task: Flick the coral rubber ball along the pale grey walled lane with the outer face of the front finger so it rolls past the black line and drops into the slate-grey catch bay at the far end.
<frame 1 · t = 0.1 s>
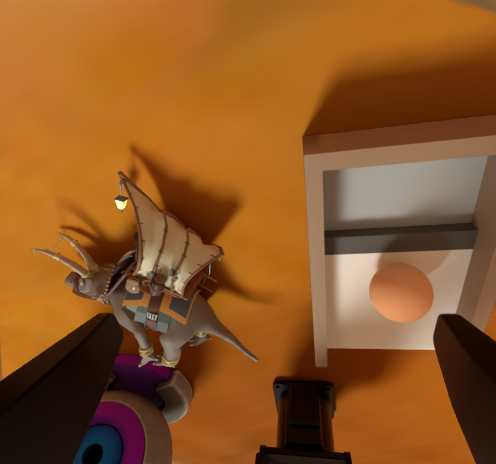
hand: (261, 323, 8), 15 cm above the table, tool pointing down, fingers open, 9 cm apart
figurine: (167, 257, 28), on the table
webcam: (143, 382, 38), on the table
ball: (399, 292, 21), point 3 cm above the table, touching throwing lane
throwing lane: (388, 251, 23), on the table
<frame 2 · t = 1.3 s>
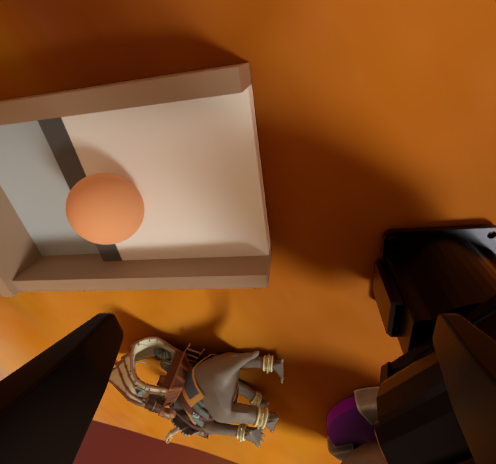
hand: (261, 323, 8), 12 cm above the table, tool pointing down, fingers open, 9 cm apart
figurine: (191, 360, 30), on the table
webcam: (385, 422, 31), on the table
ball: (106, 209, 17), point 3 cm above the table, touching throwing lane
throwing lane: (120, 186, 20), on the table
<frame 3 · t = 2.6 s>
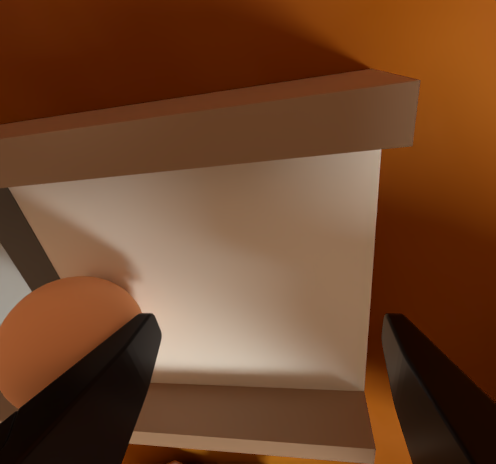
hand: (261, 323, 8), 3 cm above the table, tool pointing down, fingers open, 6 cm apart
ball: (77, 342, 9), point 3 cm above the table, tilted 11°, touching gripper, throwing lane
throwing lane: (116, 271, 12), on the table
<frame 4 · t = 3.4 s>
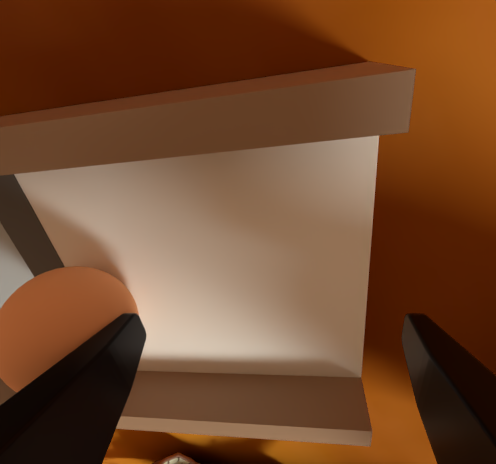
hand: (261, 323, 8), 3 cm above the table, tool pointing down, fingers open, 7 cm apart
ball: (72, 329, 10), point 3 cm above the table, tilted 23°, touching gripper, throwing lane
throwing lane: (118, 262, 13), on the table
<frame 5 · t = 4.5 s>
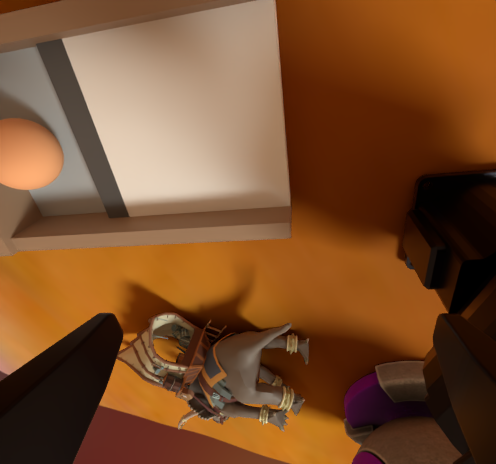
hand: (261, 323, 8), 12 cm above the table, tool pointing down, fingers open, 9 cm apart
figurine: (208, 341, 29), on the table
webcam: (407, 402, 29), on the table
ball: (23, 154, 17), point 2 cm above the table, tilted 163°, touching throwing lane
throwing lane: (128, 132, 19), on the table
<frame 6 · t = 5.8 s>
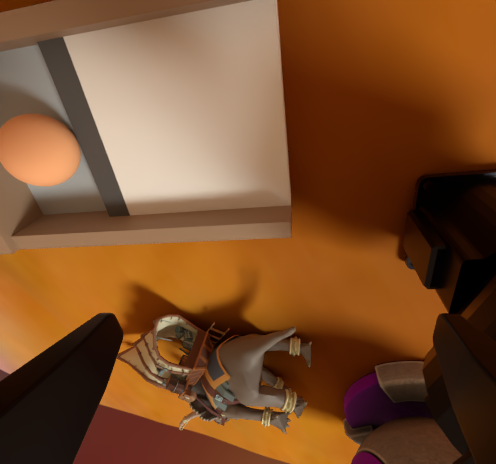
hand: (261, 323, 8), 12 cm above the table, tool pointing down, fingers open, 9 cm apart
figurine: (211, 342, 29), on the table
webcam: (406, 402, 29), on the table
ball: (40, 151, 17), point 2 cm above the table, tilted 164°, touching throwing lane
throwing lane: (129, 130, 19), on the table
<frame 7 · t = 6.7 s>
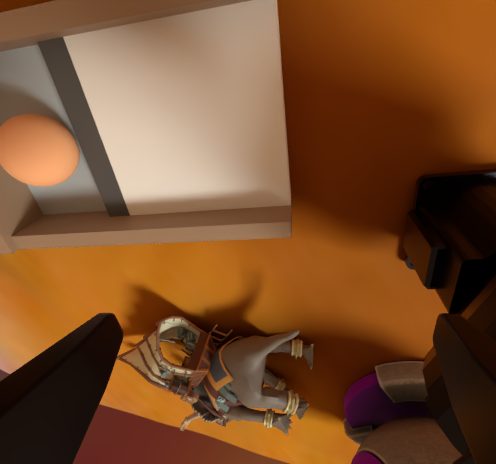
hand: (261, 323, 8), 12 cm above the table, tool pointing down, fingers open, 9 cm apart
figurine: (213, 344, 29), on the table
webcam: (406, 402, 29), on the table
ball: (39, 151, 17), point 2 cm above the table, tilted 167°, touching throwing lane
throwing lane: (129, 130, 19), on the table
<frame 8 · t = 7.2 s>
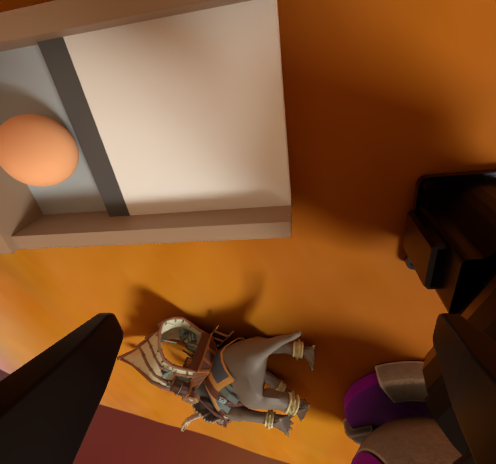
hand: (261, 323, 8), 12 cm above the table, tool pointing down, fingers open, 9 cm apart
figurine: (214, 345, 29), on the table
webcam: (406, 402, 29), on the table
ball: (39, 151, 17), point 2 cm above the table, tilted 168°, touching throwing lane
throwing lane: (129, 130, 19), on the table
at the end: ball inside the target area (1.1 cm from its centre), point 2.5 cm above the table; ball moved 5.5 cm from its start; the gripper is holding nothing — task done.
